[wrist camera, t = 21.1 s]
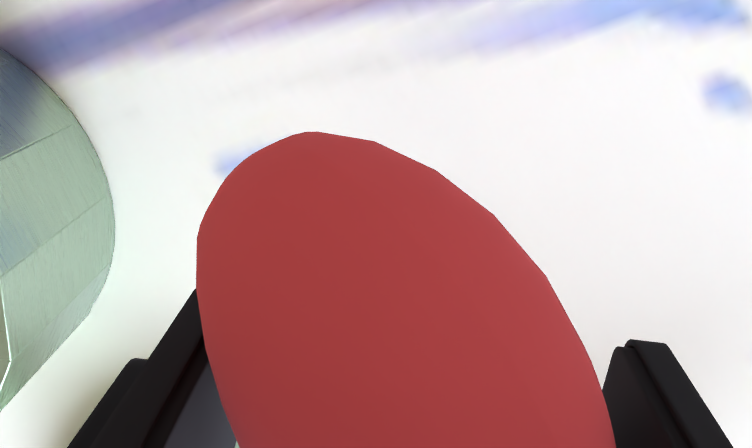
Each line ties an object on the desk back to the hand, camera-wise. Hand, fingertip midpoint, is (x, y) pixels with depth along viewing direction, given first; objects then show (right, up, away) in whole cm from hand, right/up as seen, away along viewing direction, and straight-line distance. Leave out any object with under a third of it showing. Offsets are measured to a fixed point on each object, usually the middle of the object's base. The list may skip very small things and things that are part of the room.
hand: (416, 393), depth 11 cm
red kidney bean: (0, 0, +1) cm, 1 cm away
